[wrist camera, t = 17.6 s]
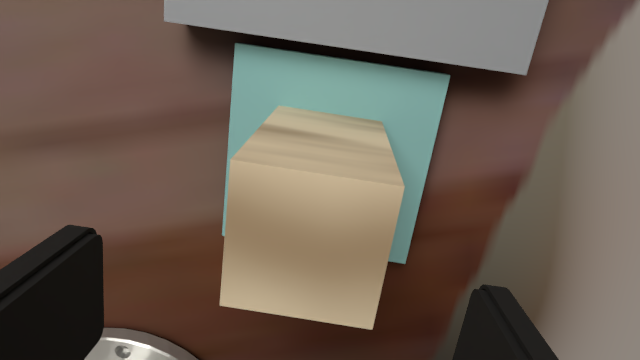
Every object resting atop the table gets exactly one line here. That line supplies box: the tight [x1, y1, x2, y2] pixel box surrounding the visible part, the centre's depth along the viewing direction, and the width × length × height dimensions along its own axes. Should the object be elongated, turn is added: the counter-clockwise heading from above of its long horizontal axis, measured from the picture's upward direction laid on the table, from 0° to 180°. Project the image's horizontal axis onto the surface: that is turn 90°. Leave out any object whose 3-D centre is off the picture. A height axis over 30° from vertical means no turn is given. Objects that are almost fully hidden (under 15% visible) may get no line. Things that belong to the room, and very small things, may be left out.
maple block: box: [220, 106, 405, 330], centre depth 15 cm, size 4×4×8 cm
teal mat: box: [222, 43, 451, 264], centre depth 19 cm, size 9×9×1 cm
